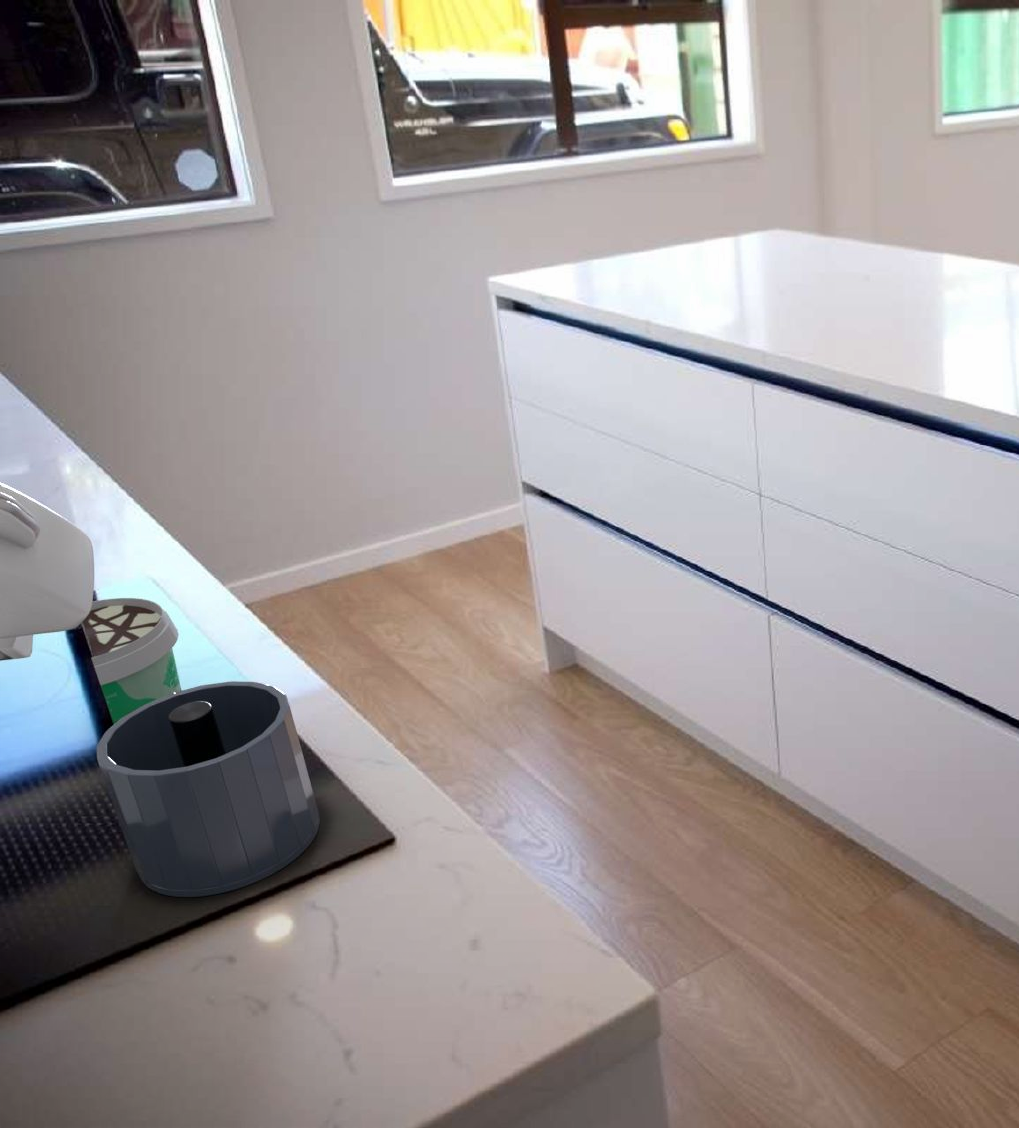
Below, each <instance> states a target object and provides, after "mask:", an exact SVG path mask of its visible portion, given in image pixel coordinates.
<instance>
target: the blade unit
mask: <svg viewBox="0 0 1019 1128" xmlns="http://www.w3.org/2000/svg"><path fill="white" fill-rule="evenodd" d="M169 721H170V724H171V727H172V730H173V733H174V736H175V740H176V743H177V746H178V749H179V752H180V755H181V758H182V762H183V765H184V767H187V766H191V765H194V764H198V763H201V762H205V761H208V760H212V759H215V758H218V757H220V756H222V755H225V754H226V752H225V749H224V745H223V742H222V739H221V735H220V732H219V729H218V725H217V722H216V719H215V715H214V712H213V709H212V706H211V704H210V703H208V702H202V701H199V702H192V703H187V704H184V705H182V706H180V707H178V708H176V709H174V710H173V711H172V712H171V713H170V715H169Z"/></svg>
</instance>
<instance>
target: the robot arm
mask: <svg viewBox="0 0 1019 1128" xmlns="http://www.w3.org/2000/svg"><path fill="white" fill-rule="evenodd" d="M94 555H95V554H94V547H93V543H92V541H91V539H90V536H88V534H87V533H85V532H84V531H83V529H81V528H80V527H78V526H77V525H75V524H74V523H72V522H71V521H69V520H68V519H67V518H65V517H64V516H63V515H60V514H58V513H57V512H55V511H54V510H52V509H50V508H49V507H47V506H45V505H44V504H42V503H40V502H38V501H37V500H36V499H34V498H31V497H30V496H28V495H26V494H24V493H22V492H21V491H18V490H16V489H15V488H12V487H10V486H8V485H6V484H4V483H1V482H0V662H1V661H2V662H3V661H11V660H18V659H27V658H30V657H31V656H32V654H33V645H34V636H35V635H43V634H50V633H51V634H52V633H60V632H65V631H71V630H73V629H75V628H78V627H79V626H80V625H82V624H81V623H82V622H83V620H84V619H85V618H86V617H87V616H88V614H89V613H90V610H91V606H92V602H93V601H94V600H93V599H94V590H95V556H94Z"/></svg>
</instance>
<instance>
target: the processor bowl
mask: <svg viewBox="0 0 1019 1128" xmlns="http://www.w3.org/2000/svg"><path fill="white" fill-rule="evenodd" d="M181 690H182V689H181ZM199 701H202V702H208V703H210V704H211V706H212V709H213V712H214V715H215V719H216V722H217V725H218V729H219V732H220V735H221V739H222V742H223V745H224V749H225V752H226V754H225V755H222V756H220V757H218V758H215V759H212V760H208V761H205V762H201V763H198V764H194V765H191V766H187V767H184V765H183V762H182V758H181V755H180V752H179V749H178V746H177V743H176V740H175V736H174V733H173V730H172V727H171V724H170V721H169V715H170V713H171V712H172V711H173V710H174V709H176V708H178V707H180V706H182V705H184V704H187V703H192V702H199ZM290 705H291V704H290V703H289V699H288V696H287V695H286V693H284V692H283V691H281V689H278V688H277V687H275V686H273V685H270V684H266V683H262V682H257V681H239V680H238V681H237V680H236V681H235V680H234V681H233V680H232V681H231V680H230V681H224V682H216V683H209V684H202V685H197V686H194V687H190V688H186V689H183V690H182V691H179V692H175V693H172V694H170V695H167V696H165V697H162V698H160V699H157V700H155V701H152V702H149V703H148V704H145V705H143V706H142V707H140V708H138V709H136V710H135V711H133V712H131V713H129V714H127V715H126V716H124V717H123V718H121V719H120V720H119V721H118V722H117V723H115V724H114V723H113V725H112V726H110V728H108V729H107V730H106V731H105V732H104V734H103V735H102V737H101V739H100V740H99V742H98V743H97V745H96V760H97V763H98V766H99V769H100V771H101V774H102V778H103V780H104V783H105V785H106V789H107V792H108V794H109V797H110V800H111V803H112V806H113V809H114V812H115V814H116V817H117V820H118V822H119V826H120V828H121V830H122V831H121V832H122V834H123V838H124V840H125V843H126V846H127V848H128V851H129V855H130V858H131V860H132V863H133V866H134V869H135V872H137V874H138V877H139V878H140V881H141V882H142V883H143V885H144V886H145V887H147V888H148V889H149V890H151V891H153V892H155V893H158V894H160V895H164V896H168V897H174V898H201V897H202V898H203V897H208V896H209V897H210V896H214V895H219V894H223V893H224V894H225V893H228V892H231V891H235V890H239V889H241V888H244V887H247V886H250V885H252V884H255V883H257V882H260V881H263V880H264V879H266V878H268V877H270V876H272V875H274V874H275V873H277V872H279V871H281V870H282V869H284V868H286V867H287V866H289V864H291V863H292V862H294V861H295V860H296V859H298V858H299V857H300V856H301V855H302V854H303V853H304V852H305V851H306V850H307V849H308V848H309V847H310V845H311V844H312V843H313V842H314V840H315V838H316V836H317V834H318V831H319V829H320V822H321V819H320V814H319V809H318V805H317V802H316V798H315V794H314V790H313V786H312V784H311V779H310V776H309V772H308V769H307V764H306V761H305V758H304V757H305V756H304V755H303V750H302V747H301V743H300V740H299V736H298V735H299V734H298V731H297V727H296V724H295V721H294V717H293V713H292V710H291V706H290Z"/></svg>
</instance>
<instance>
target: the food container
mask: <svg viewBox="0 0 1019 1128" xmlns="http://www.w3.org/2000/svg"><path fill="white" fill-rule="evenodd" d="M80 625H81V627H82V630H83V633H84V636H85V639H86V642H87V645H88V648H89V651H90V654H91V656H92V657H91V658H90V659H91V661H92V665H93V668H94V671H95V673H96V676H97V679H98V682H99V685H100V688H101V691H102V694H103V697H104V699H105V702H106V705H107V708H108V711H109V715H110V718H111V720H112V723H113V725H114V724H115V723H117V722H118V721H119V720H120V719H121V718H123V717H124V716H126V715H127V714H129V713H131V712H133V711H135V710H136V709H138V708H140V707H142V706H143V705H145V704H148V703H149V702H152V701H155V700H157V699H160V698H162V697H165V696H167V695H170V694H172V693H175V692H179V691H182V687H181V682H180V677H179V672H178V669H177V664H176V663H177V662H176V659H175V655H174V649H173V647H175V645H176V643H177V641H178V639H179V631H178V628H177V626H176V625H175V623H174V622H173V619H172V618H171V616H170V615H169V614H168V612H167V611H165V610H164V609H163V607H162V606H161V605H159V604H158V603H157V602H154V601H152V600H149V599H145V598H137V597H119V598H116V597H115V598H105V599H99V600H93V601H92V606H91V610H90V613H89V614H88V616H87V617H86V618H85V619H84V620H83V622H82V623H81V624H80Z"/></svg>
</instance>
